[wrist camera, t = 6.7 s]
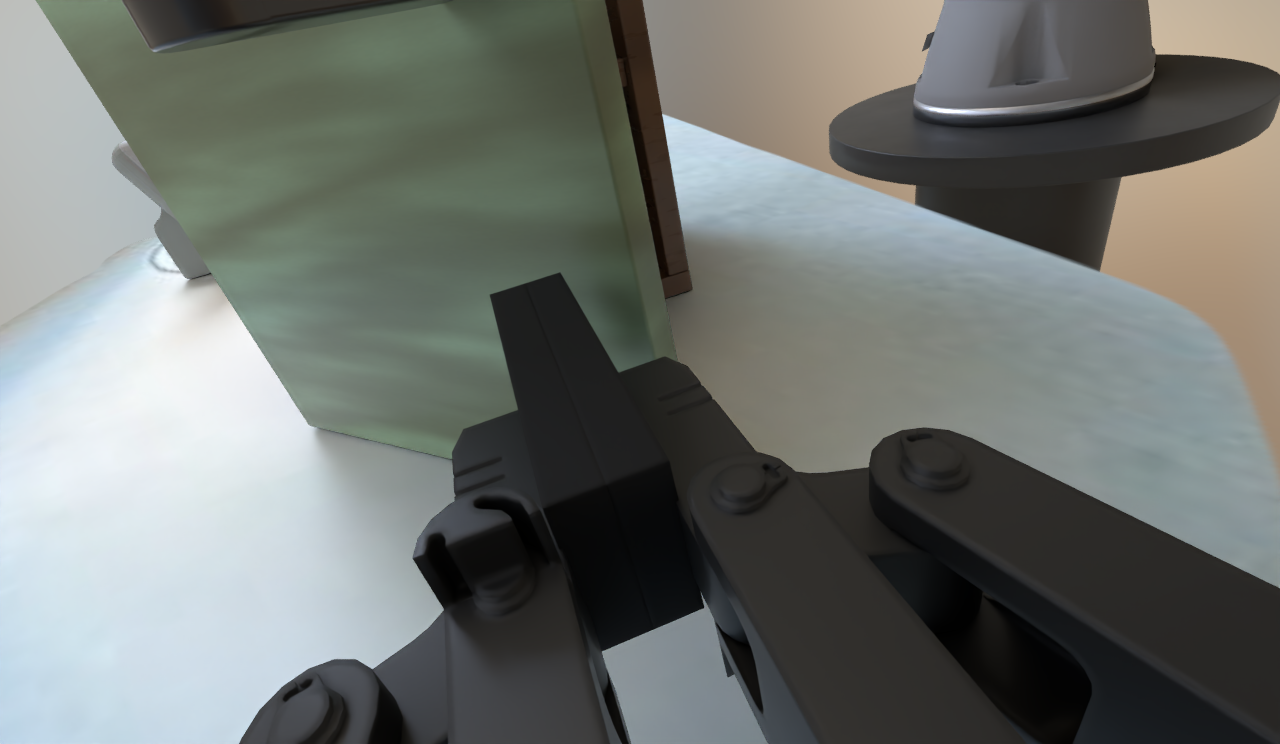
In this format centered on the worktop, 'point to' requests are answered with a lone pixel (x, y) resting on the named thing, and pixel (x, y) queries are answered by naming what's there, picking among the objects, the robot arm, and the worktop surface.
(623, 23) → the cupboard
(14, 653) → the worktop surface
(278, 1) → the door
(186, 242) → the digital clock
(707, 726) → the worktop surface
